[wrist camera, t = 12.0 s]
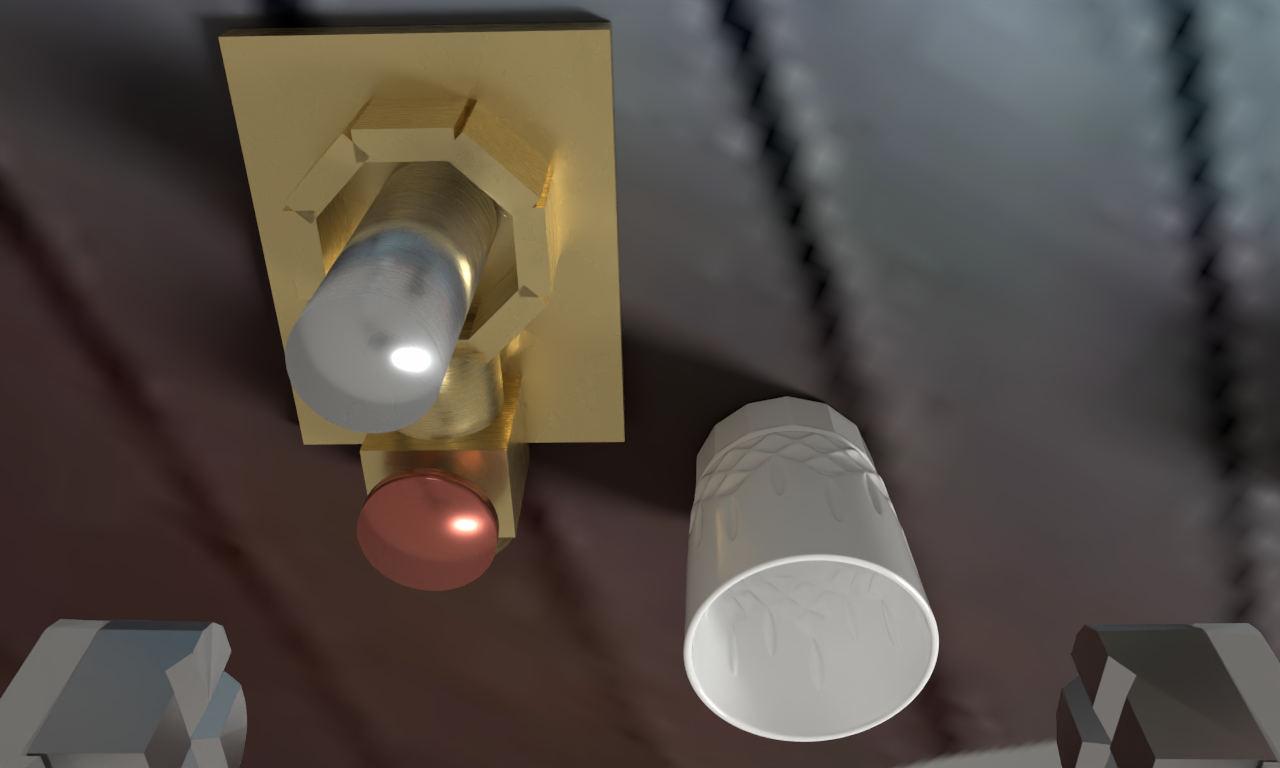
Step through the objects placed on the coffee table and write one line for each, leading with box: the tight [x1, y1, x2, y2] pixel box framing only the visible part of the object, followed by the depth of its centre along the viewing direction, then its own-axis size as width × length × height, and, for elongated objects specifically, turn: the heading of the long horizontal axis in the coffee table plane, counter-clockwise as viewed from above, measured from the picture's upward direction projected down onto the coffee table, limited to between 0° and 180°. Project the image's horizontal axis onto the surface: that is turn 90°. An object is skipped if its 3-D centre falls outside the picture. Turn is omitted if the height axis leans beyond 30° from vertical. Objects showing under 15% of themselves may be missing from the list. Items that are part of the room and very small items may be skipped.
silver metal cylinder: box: [285, 161, 497, 433], centre depth 33 cm, size 4×4×10 cm
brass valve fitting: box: [218, 22, 625, 591], centre depth 36 cm, size 18×12×8 cm
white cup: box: [684, 396, 939, 742], centre depth 39 cm, size 8×8×10 cm
